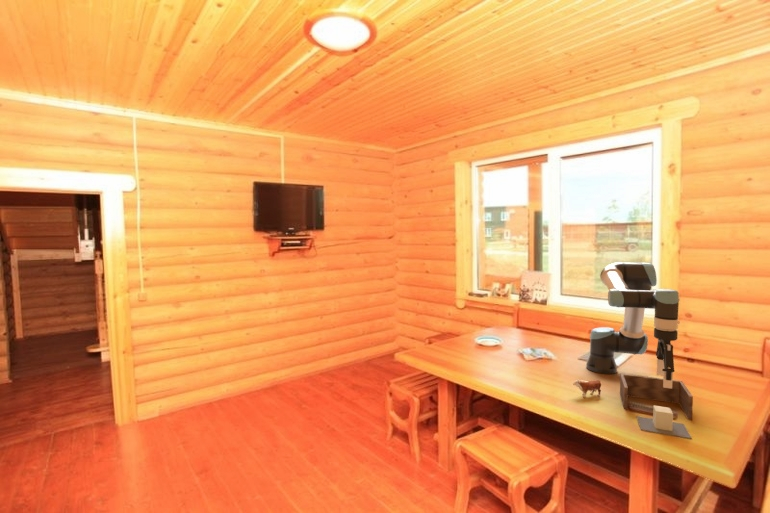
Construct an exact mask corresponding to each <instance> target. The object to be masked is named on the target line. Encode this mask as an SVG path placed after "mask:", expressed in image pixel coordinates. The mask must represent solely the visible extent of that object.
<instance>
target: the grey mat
mask: <svg viewBox="0 0 770 513" xmlns="http://www.w3.org/2000/svg"><path fill="white" fill-rule="evenodd" d="M636 418H637V423H638V425H639V429H640V431H644V432H649V433H654V434H660V435H665V436H671V437H676V438H683V439H687V440H688V439H689V440H692V436H691V434H690V433H689V431H688V429H687V428H686V425H685V424H684V423H682V422H675V421H673V429H672V431H669V430H663V429H657V428H655V426H654V423H653V417H652V418H651V417H647V416H646V417H645V416H638V415H637V416H636Z"/></svg>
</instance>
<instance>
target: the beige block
mask: <svg viewBox="0 0 770 513" xmlns="http://www.w3.org/2000/svg"><path fill="white" fill-rule="evenodd" d="M652 407H653V408H652V409H653V411H652V413H653V414H652V419H653V423H654V426H655V428H657V429H663V430H669V431H672V429H673V422H674V413H673V411H672V409H671V407H666V406H660V405H655V404H654V405H653V406H652Z"/></svg>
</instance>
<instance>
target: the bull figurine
mask: <svg viewBox="0 0 770 513" xmlns="http://www.w3.org/2000/svg"><path fill="white" fill-rule="evenodd" d="M572 385H573V386H576V387H577V388H578V389H579V390H580V391H582V398H583V399H585V398H586V397H587V396H586V395H587V392H588V391H589V392H590V394H589V395H591V396H592V395H593V394H594V392H598V394H597V397H600V396H601V391H602V390H601V386H602V384H601V381H600V380H599V379H597V380H583V379H582V380H580V379H576V380H574V382H573V383H572Z"/></svg>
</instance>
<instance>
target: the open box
mask: <svg viewBox="0 0 770 513" xmlns="http://www.w3.org/2000/svg"><path fill="white" fill-rule="evenodd" d="M619 378H620V379H619V382H620V383H619V394H620V398H621V399H620V400H621V402H622V406H623V410H626V411H628V397H631V398H640V399H647V400H653V401H659V402H665V403H667V402H668V403H673V404H674V403H675V404H679V407H680V408H681V410H682V411H683V413H684V414H685V416H686V418H687V420H688V421H692V420H693V403H694V401H693V400H694V396H693V395H692V393H691V392H690V391H689V389H688V388H687V386H686V384H685V383H684V382H683V380H682V381H681V380H674V379H673V380H672V389H671V388H664V387H663V378H658V377H652V376H651V377H649V376H642V375H634V374H626V373H620V377H619Z"/></svg>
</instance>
